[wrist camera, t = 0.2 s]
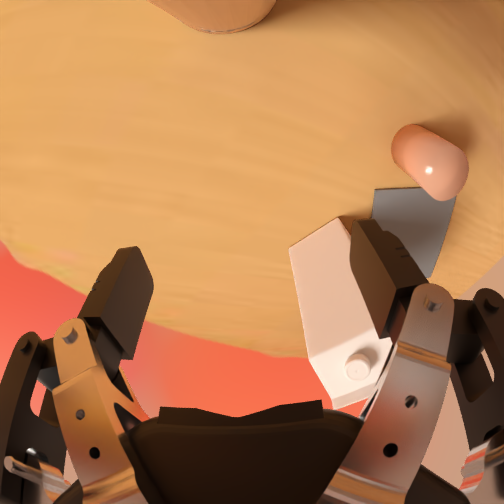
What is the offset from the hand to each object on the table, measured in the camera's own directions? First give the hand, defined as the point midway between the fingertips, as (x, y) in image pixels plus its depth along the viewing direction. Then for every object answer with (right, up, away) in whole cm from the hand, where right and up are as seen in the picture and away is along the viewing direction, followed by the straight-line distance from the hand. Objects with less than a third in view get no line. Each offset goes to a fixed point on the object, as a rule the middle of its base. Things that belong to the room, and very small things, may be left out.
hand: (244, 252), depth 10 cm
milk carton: (+10, 0, +23) cm, 25 cm away
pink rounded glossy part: (+18, +11, +15) cm, 26 cm away
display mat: (+21, +2, +23) cm, 31 cm away
